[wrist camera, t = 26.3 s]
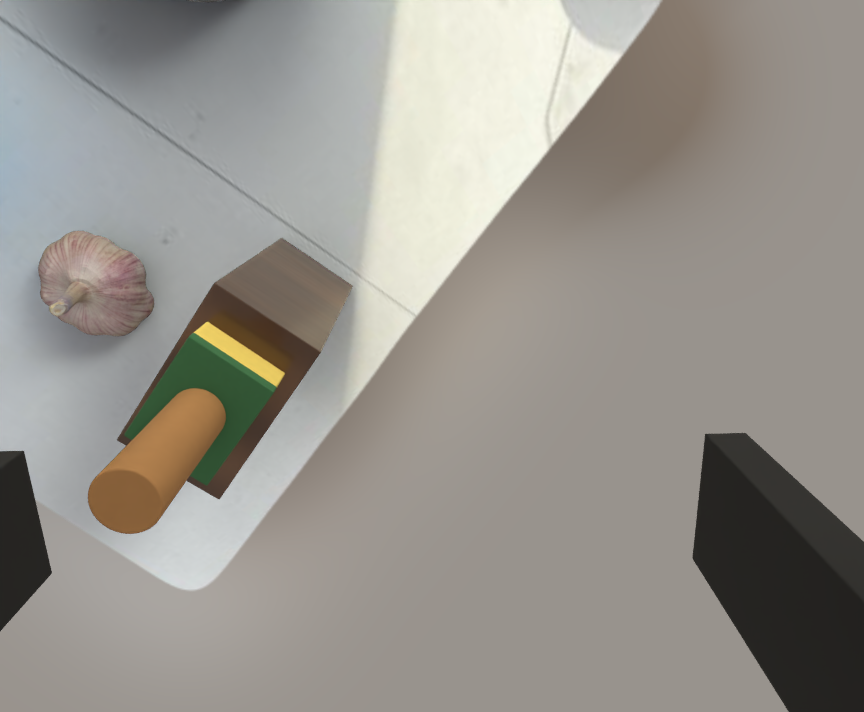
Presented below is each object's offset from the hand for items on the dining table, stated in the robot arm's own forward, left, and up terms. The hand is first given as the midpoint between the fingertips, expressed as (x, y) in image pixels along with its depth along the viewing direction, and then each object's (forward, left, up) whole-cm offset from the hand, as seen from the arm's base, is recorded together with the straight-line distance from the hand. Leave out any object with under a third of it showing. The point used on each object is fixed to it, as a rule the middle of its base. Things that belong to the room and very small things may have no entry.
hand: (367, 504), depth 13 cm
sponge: (+9, +5, -20) cm, 23 cm away
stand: (+9, +5, -36) cm, 37 cm away
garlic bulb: (+21, +2, -36) cm, 42 cm away
